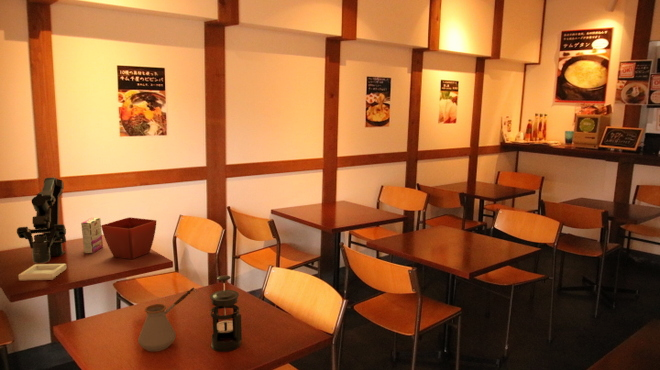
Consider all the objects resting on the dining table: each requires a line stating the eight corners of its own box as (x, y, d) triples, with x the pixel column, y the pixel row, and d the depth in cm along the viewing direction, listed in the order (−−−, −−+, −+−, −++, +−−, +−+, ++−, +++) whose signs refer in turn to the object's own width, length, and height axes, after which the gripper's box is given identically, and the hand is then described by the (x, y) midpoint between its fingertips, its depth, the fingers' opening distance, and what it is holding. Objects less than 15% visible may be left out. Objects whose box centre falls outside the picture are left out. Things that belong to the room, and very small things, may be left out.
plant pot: (102, 257, 245) (99, 225, 242) (131, 247, 262) (129, 216, 259) (131, 262, 237) (129, 229, 235) (159, 251, 255) (157, 220, 252)
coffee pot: (152, 358, 149) (149, 312, 146) (131, 347, 155) (128, 302, 153) (208, 332, 166) (206, 290, 163) (186, 323, 172) (184, 283, 170)
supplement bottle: (53, 260, 220) (51, 235, 218) (37, 264, 215) (35, 238, 213) (46, 257, 224) (44, 232, 222) (30, 261, 219) (28, 235, 217)
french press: (203, 345, 157) (200, 277, 153) (225, 334, 164) (223, 269, 160) (229, 356, 150) (226, 285, 146) (250, 344, 157) (249, 276, 154)
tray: (35, 269, 227) (34, 264, 226) (66, 268, 228) (66, 263, 228) (19, 280, 213) (18, 274, 213) (52, 279, 214) (51, 274, 214)
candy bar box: (94, 247, 262) (91, 217, 259) (103, 247, 262) (100, 217, 259) (83, 253, 251) (80, 222, 248) (92, 253, 251) (90, 222, 248)
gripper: (15, 209, 216) (11, 240, 208) (62, 207, 222) (60, 236, 214) (21, 222, 225) (18, 252, 217) (66, 219, 231) (65, 248, 223)
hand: (40, 247), depth 217 cm, fingers closed on supplement bottle, 7 cm apart
